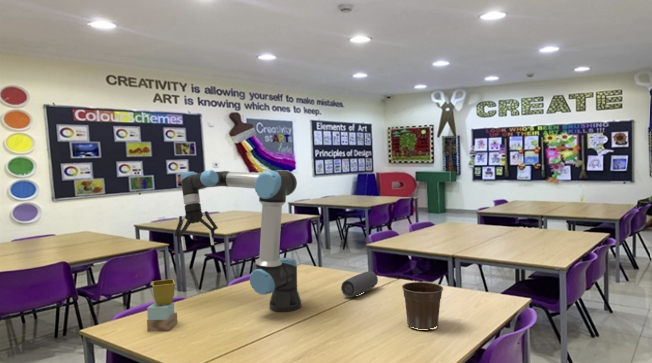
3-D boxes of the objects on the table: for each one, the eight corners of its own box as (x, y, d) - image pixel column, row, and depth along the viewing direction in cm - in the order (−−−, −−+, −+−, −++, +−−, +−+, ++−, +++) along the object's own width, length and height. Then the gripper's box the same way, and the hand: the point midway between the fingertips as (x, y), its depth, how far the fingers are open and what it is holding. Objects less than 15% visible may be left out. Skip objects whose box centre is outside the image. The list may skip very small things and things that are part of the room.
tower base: (177, 324, 191) (177, 312, 191) (168, 331, 182) (168, 319, 182) (157, 324, 192) (156, 312, 192) (147, 331, 183) (146, 319, 183)
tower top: (174, 313, 190) (173, 301, 190) (166, 319, 182) (166, 307, 182) (155, 313, 191) (155, 302, 190) (147, 319, 183) (147, 307, 182)
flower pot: (175, 304, 185) (175, 283, 185) (153, 307, 182) (152, 285, 182) (174, 299, 194) (173, 278, 193) (152, 302, 190) (152, 281, 190)
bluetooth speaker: (363, 287, 240) (363, 269, 240) (379, 289, 235) (378, 271, 234) (340, 298, 222) (339, 278, 222) (356, 301, 216) (355, 280, 216)
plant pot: (445, 321, 185) (444, 282, 184) (442, 335, 170) (441, 293, 169) (406, 318, 190) (405, 280, 190) (399, 331, 175) (398, 290, 175)
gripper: (219, 200, 219) (226, 242, 216) (169, 209, 218) (175, 252, 215) (215, 198, 211) (222, 242, 208) (164, 208, 211) (169, 252, 208)
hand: (198, 247), depth 212 cm, fingers open, 13 cm apart
